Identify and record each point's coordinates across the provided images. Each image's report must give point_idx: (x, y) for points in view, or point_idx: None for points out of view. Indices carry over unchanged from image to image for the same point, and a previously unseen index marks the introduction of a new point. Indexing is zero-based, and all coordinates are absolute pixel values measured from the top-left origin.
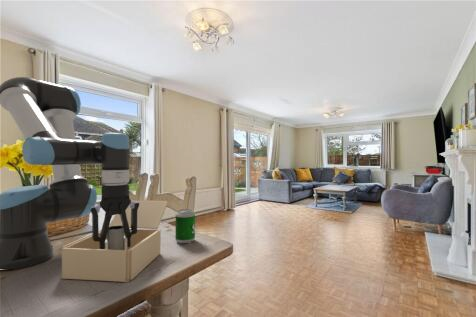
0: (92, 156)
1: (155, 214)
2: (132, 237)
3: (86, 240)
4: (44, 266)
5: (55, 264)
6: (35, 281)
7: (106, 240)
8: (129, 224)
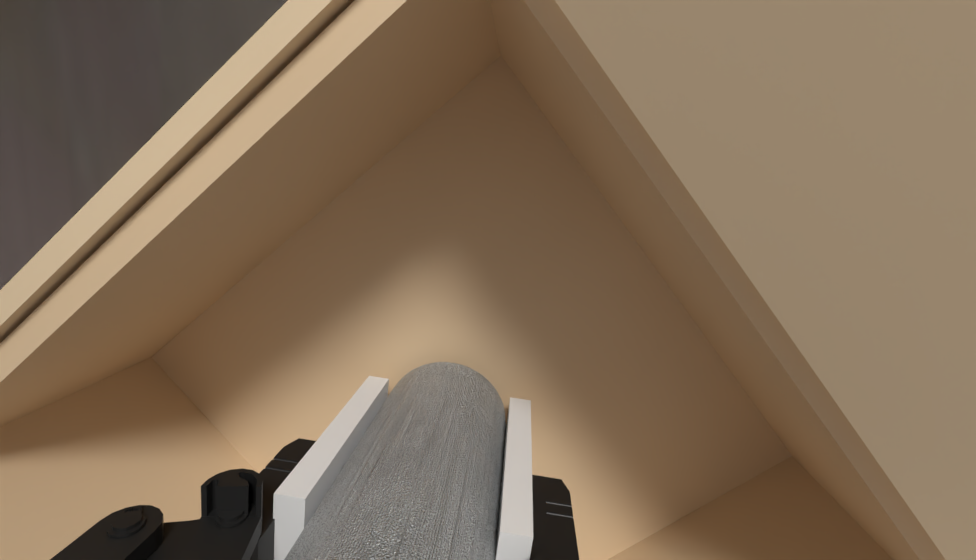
0: None
1: None
2: (709, 306)
3: (121, 284)
4: (34, 16)
5: (103, 36)
6: (15, 272)
7: (297, 536)
8: (818, 245)
